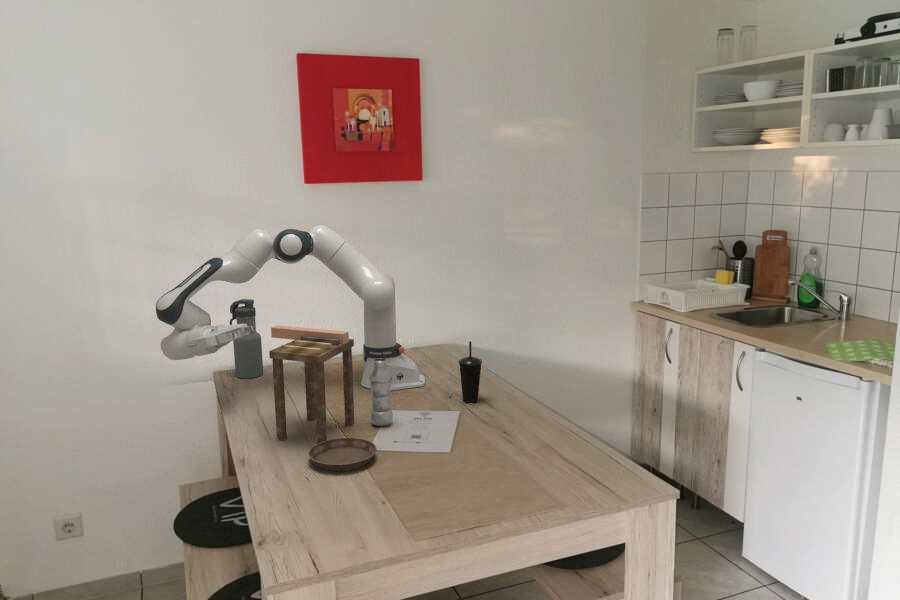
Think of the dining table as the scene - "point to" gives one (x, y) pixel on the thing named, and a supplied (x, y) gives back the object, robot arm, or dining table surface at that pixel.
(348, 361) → the walnut stool
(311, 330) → the terracotta bar
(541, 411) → the dining table surface
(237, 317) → the water bottle
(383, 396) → the plastic bottle
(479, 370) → the drinking cup
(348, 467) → the plant saucer
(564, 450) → the dining table surface
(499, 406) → the dining table surface
